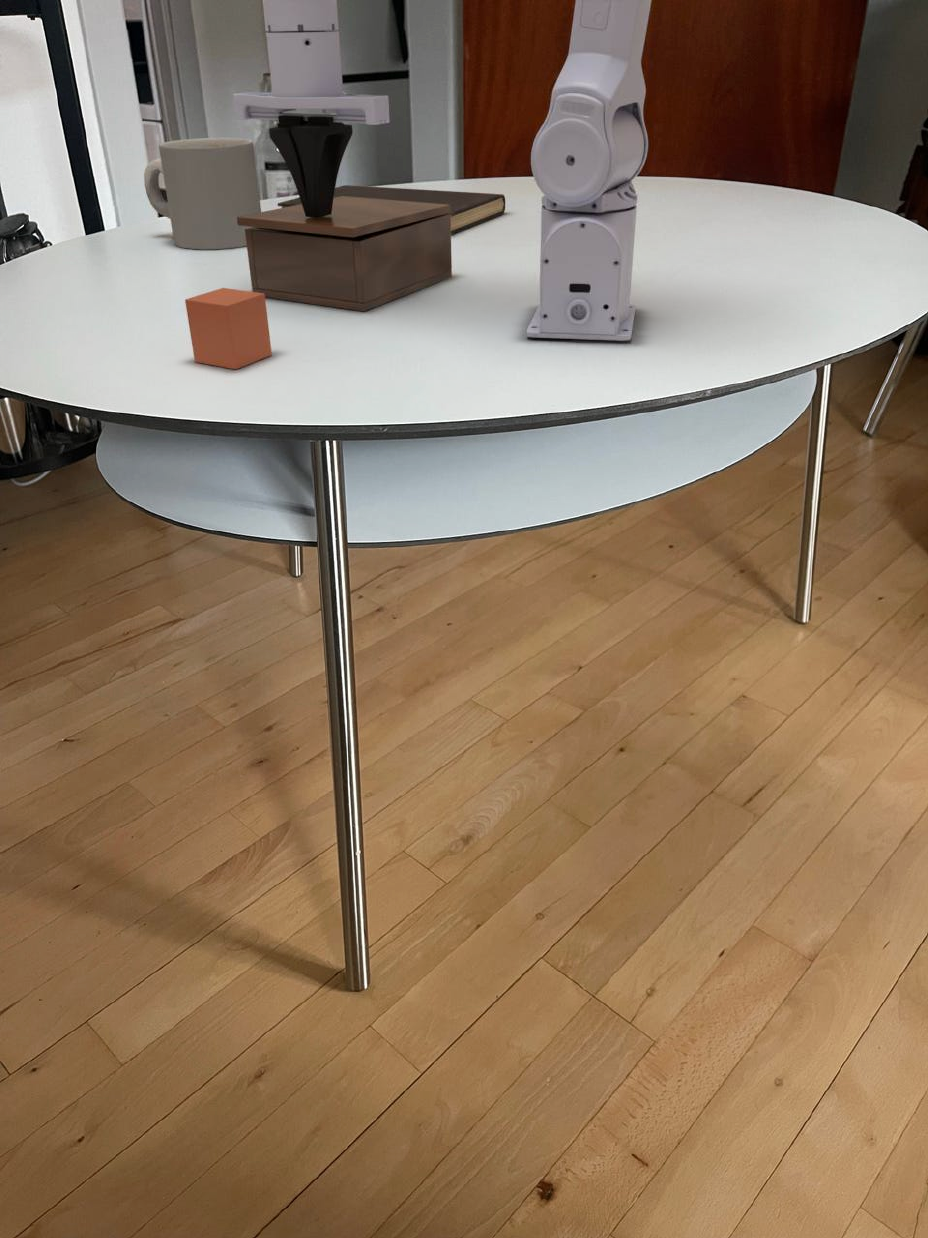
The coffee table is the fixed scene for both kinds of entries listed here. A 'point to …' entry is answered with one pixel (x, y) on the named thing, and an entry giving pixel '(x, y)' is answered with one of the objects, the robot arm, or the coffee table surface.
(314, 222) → the lid
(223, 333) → the block
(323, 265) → the box
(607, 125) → the robot arm
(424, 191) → the hardcover book
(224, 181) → the coffee mug
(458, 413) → the coffee table surface
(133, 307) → the coffee table surface
